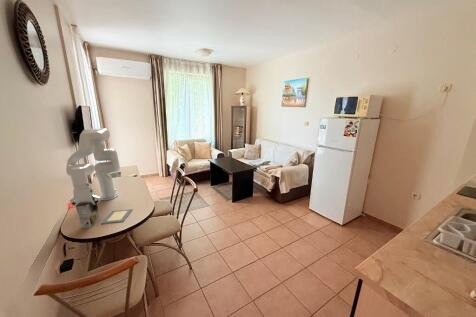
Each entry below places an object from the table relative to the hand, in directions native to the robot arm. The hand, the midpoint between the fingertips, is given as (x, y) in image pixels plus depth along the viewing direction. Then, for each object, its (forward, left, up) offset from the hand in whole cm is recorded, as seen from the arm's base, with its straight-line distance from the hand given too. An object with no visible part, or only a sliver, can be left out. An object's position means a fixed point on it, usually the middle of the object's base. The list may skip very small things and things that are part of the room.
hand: (87, 210), depth 124 cm
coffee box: (0, 0, -10) cm, 10 cm away
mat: (-6, +14, -10) cm, 18 cm away
